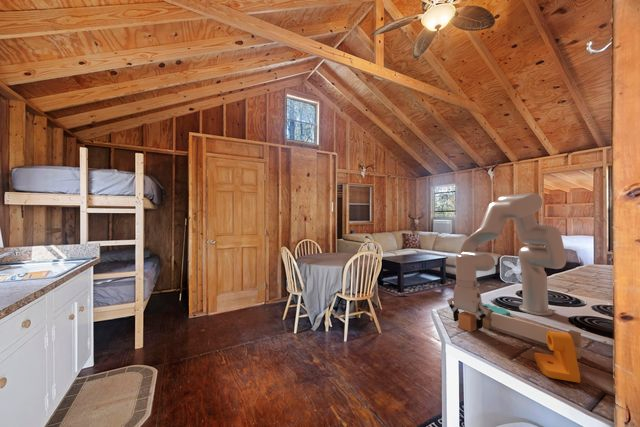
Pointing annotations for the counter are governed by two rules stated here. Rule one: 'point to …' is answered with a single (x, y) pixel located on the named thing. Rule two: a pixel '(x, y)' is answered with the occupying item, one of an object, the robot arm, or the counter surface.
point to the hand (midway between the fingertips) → (467, 324)
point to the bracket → (559, 358)
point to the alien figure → (496, 310)
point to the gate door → (521, 327)
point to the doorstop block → (467, 321)
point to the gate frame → (575, 336)
